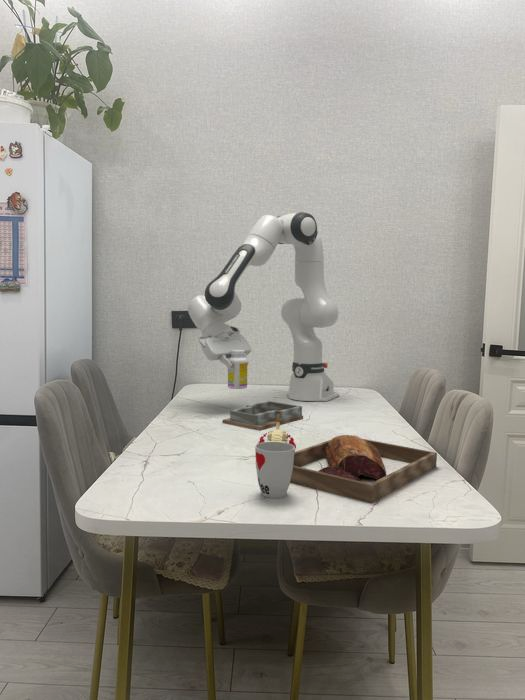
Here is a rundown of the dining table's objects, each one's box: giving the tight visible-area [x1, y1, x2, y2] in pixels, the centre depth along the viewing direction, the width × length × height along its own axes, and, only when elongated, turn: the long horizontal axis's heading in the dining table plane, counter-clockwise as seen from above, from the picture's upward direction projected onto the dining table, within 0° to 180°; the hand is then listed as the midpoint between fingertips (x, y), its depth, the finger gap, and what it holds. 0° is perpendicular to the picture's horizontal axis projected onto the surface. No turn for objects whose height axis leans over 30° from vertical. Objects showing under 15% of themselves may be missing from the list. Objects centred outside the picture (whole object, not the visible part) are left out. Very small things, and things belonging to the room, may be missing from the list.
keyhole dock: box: [221, 400, 304, 431], centre depth 192 cm, size 23×15×4 cm, turn 142°
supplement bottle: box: [227, 350, 248, 390], centre depth 203 cm, size 7×7×13 cm
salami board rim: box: [290, 438, 438, 504], centre depth 140 cm, size 33×26×4 cm
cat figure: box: [257, 414, 297, 452], centre depth 156 cm, size 10×9×25 cm
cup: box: [254, 441, 296, 499], centre depth 123 cm, size 8×8×10 cm
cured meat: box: [318, 434, 387, 482], centre depth 139 cm, size 18×25×7 cm
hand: (239, 365), depth 202 cm, fingers closed on supplement bottle, 7 cm apart
